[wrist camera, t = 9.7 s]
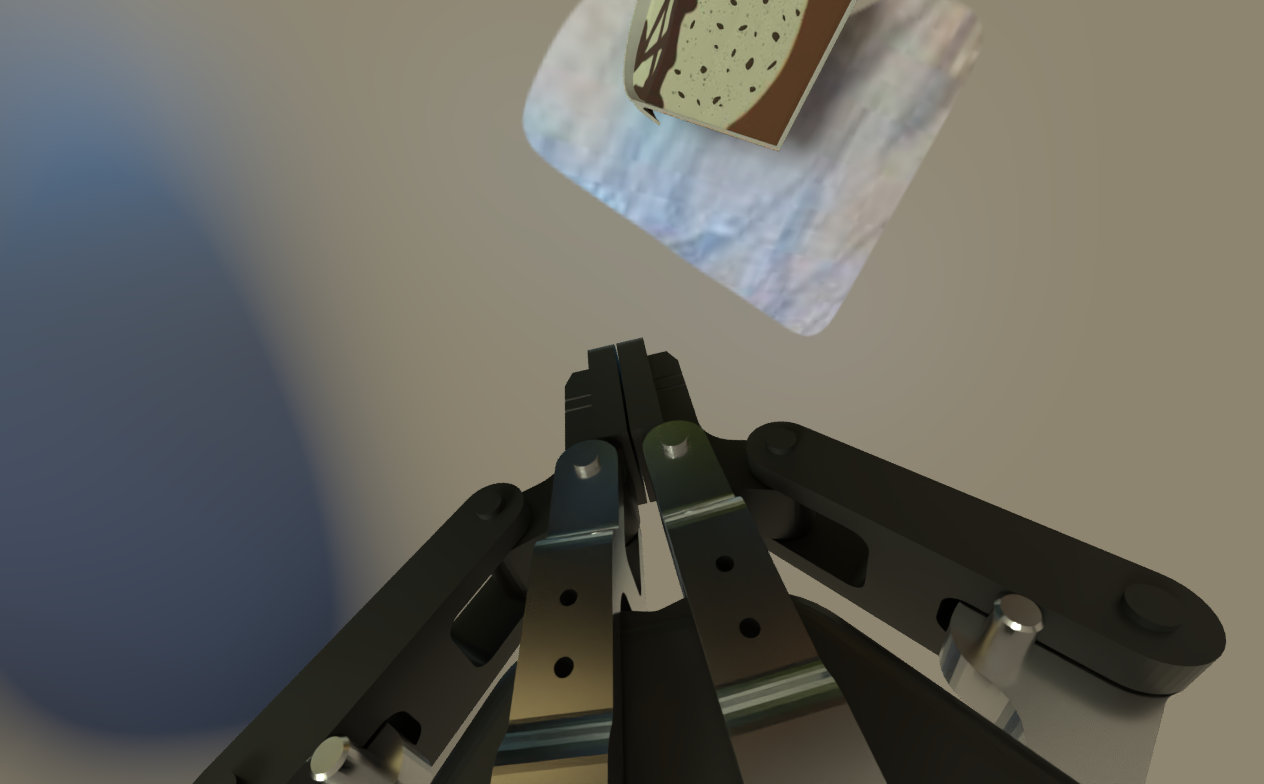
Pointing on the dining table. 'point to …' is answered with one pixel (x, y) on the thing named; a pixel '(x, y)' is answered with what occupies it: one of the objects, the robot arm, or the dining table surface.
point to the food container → (730, 61)
